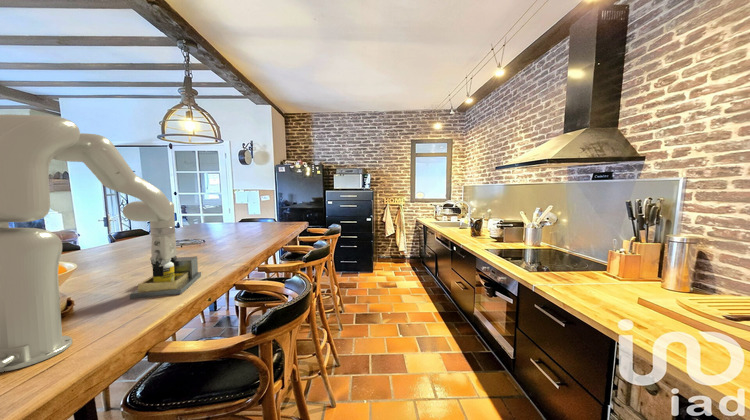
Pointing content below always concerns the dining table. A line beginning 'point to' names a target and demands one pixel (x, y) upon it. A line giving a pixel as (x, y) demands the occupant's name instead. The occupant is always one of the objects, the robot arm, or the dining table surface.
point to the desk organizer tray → (183, 279)
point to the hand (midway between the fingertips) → (164, 272)
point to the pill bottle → (166, 272)
